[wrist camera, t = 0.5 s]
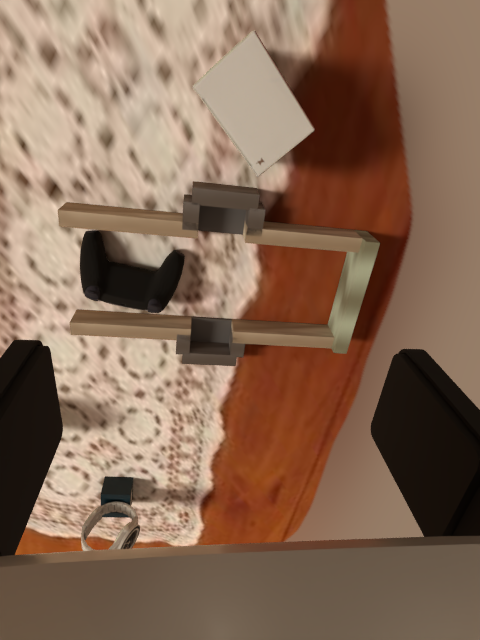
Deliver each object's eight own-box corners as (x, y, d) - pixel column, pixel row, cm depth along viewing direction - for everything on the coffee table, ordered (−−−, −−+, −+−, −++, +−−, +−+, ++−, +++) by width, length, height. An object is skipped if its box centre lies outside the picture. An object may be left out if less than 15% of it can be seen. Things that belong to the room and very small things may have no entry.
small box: (290, 121, 39) (318, 132, 30) (245, 159, 40) (258, 180, 31) (241, 42, 35) (255, 26, 26) (193, 86, 37) (191, 86, 28)
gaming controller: (89, 242, 45) (73, 299, 43) (85, 224, 41) (67, 287, 39) (182, 264, 48) (171, 319, 46) (187, 249, 43) (175, 310, 42)
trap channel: (63, 167, 39) (50, 175, 36) (375, 201, 43) (390, 210, 40) (80, 344, 49) (71, 363, 46) (330, 357, 54) (339, 375, 50)
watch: (144, 500, 66) (135, 569, 56) (93, 498, 64) (75, 569, 55) (146, 477, 63) (136, 546, 53) (93, 475, 61) (74, 546, 52)
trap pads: (199, 198, 42) (199, 198, 41) (246, 202, 42) (246, 203, 42) (189, 339, 50) (189, 341, 50) (228, 341, 51) (228, 343, 51)
